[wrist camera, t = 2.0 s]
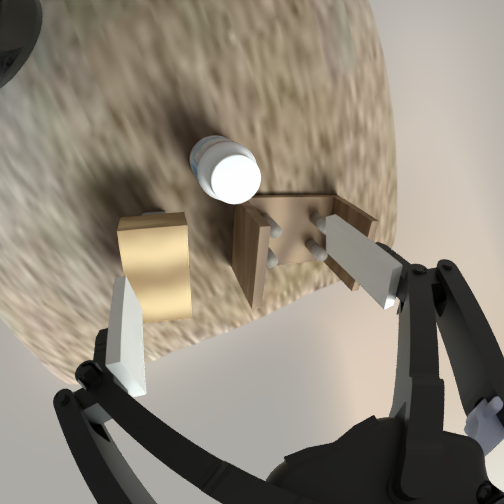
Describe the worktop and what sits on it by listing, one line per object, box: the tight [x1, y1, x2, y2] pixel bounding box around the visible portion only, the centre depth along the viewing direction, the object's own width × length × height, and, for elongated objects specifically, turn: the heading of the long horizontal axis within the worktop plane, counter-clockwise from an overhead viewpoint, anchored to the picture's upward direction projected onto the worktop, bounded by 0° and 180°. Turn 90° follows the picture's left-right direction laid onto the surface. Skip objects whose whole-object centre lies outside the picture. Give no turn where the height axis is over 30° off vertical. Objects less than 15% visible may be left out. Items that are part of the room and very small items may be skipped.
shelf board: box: [117, 212, 192, 323], centre depth 30 cm, size 12×7×4 cm, turn 176°
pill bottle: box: [190, 135, 261, 204], centre depth 29 cm, size 6×6×11 cm
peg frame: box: [231, 195, 378, 309], centre depth 38 cm, size 16×11×10 cm
